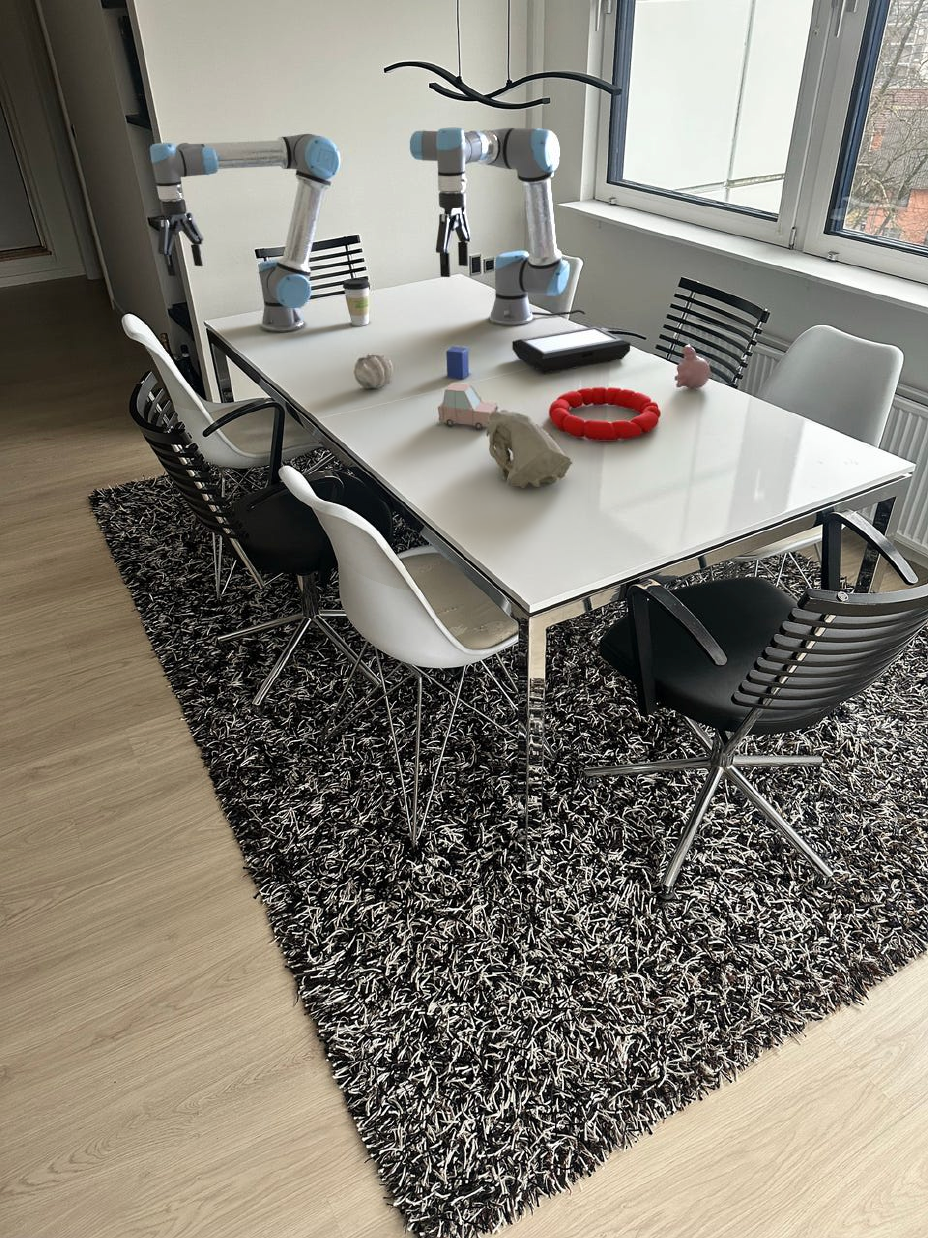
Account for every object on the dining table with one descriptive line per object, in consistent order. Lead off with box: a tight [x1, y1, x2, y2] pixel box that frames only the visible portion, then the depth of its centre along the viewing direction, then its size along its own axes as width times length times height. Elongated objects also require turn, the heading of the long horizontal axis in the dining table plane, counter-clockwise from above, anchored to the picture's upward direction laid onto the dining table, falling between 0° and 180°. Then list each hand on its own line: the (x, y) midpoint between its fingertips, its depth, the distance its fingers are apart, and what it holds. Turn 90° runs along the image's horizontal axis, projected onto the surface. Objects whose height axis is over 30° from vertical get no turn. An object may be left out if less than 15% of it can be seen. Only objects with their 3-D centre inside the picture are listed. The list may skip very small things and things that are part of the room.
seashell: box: [353, 354, 394, 389], centre depth 268 cm, size 10×15×10 cm
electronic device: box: [511, 326, 631, 374], centre depth 286 cm, size 32×6×20 cm
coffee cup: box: [342, 277, 371, 327], centre depth 323 cm, size 10×10×15 cm
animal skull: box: [485, 409, 573, 489], centre depth 216 cm, size 17×25×20 cm
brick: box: [445, 346, 470, 380], centre depth 275 cm, size 5×5×8 cm
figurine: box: [674, 344, 711, 390], centre depth 259 cm, size 9×11×12 cm
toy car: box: [437, 382, 499, 431], centre depth 243 cm, size 9×15×10 cm, turn 70°
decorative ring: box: [548, 386, 661, 442], centre depth 242 cm, size 7×30×30 cm
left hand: (186, 270), depth 289 cm, fingers open, 13 cm apart
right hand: (454, 270), depth 260 cm, fingers open, 13 cm apart
